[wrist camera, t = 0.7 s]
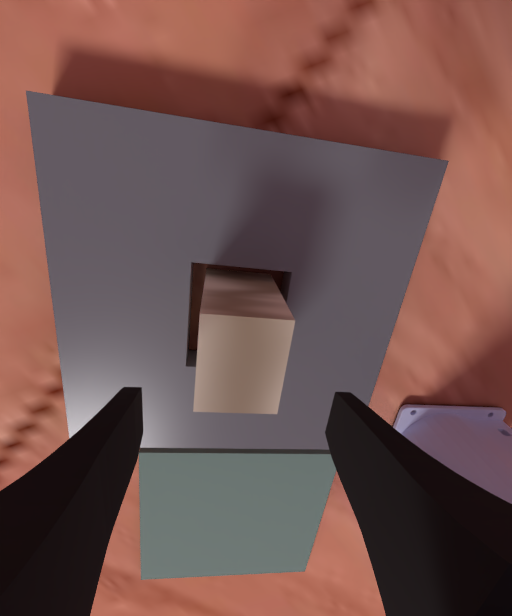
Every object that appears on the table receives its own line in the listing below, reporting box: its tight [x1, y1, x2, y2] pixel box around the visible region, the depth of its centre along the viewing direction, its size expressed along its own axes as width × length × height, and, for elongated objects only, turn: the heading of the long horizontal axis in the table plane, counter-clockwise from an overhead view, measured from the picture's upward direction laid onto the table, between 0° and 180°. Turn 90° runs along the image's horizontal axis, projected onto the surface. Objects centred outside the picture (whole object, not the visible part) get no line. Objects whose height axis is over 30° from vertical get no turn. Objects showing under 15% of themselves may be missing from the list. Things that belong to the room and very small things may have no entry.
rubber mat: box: [139, 448, 336, 580], centre depth 28 cm, size 16×16×1 cm
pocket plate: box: [26, 91, 449, 450], centre depth 19 cm, size 20×20×2 cm
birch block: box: [193, 268, 295, 414], centre depth 17 cm, size 4×5×7 cm
